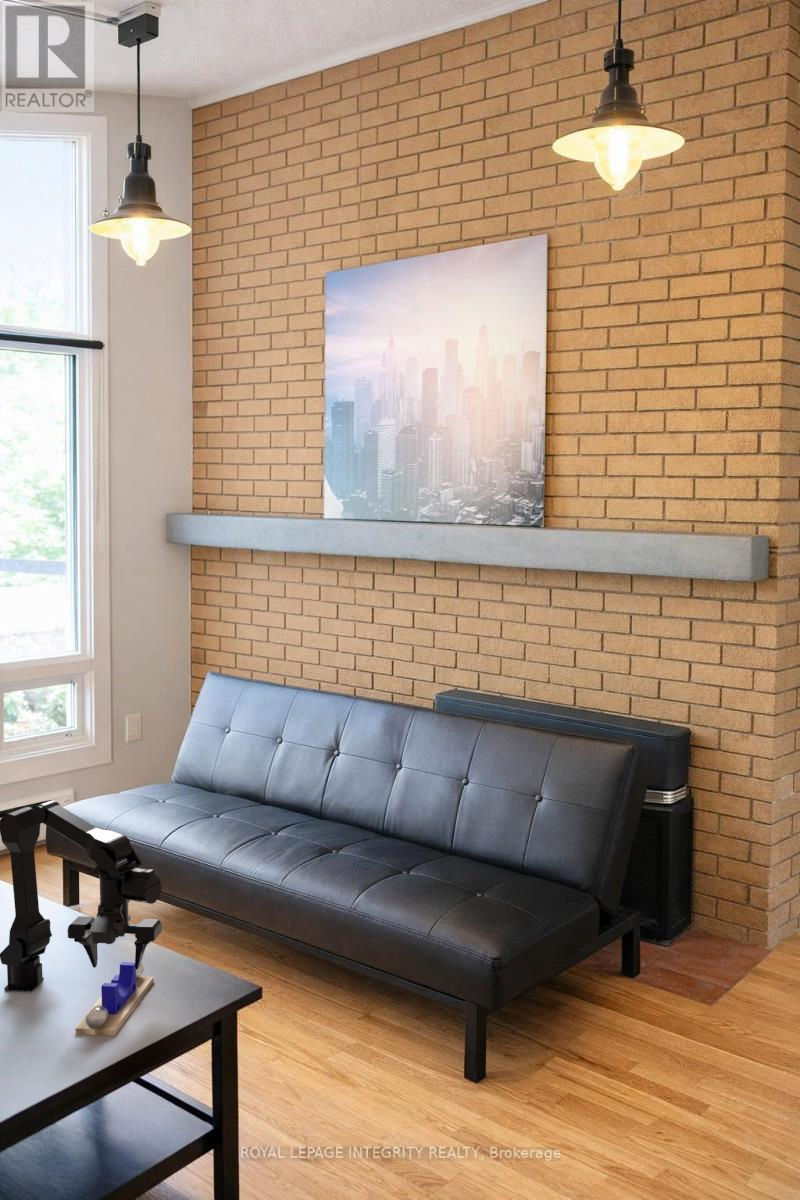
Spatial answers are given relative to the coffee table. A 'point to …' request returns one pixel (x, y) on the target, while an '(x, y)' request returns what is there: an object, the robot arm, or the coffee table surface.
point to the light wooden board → (118, 1019)
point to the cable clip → (119, 988)
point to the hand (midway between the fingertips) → (116, 967)
